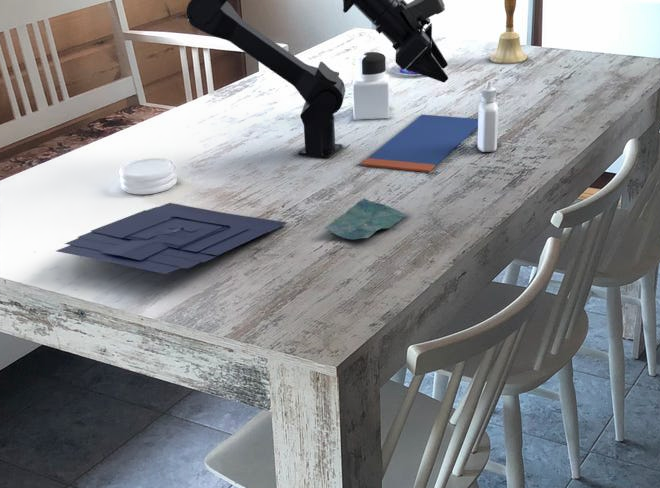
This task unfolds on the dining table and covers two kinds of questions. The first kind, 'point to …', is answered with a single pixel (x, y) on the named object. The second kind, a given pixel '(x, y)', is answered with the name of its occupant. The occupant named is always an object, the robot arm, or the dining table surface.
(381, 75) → the medicine bottle
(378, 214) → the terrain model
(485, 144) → the eye dropper bottle
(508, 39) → the hand bell
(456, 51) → the dining table surface
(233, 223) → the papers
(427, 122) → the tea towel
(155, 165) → the white round disc stack
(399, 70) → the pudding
